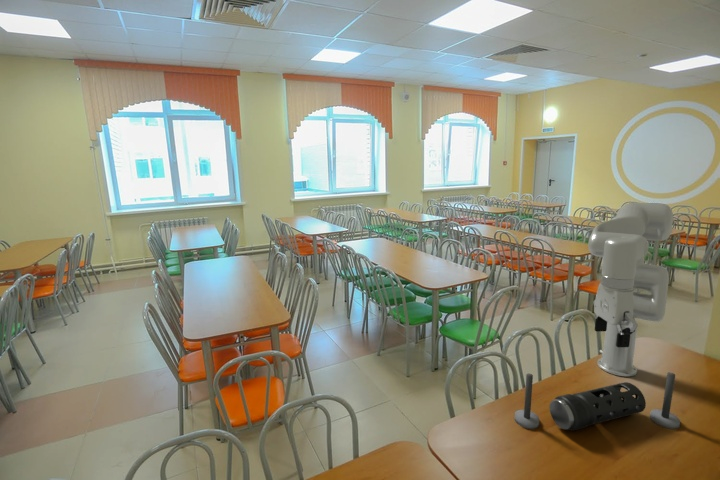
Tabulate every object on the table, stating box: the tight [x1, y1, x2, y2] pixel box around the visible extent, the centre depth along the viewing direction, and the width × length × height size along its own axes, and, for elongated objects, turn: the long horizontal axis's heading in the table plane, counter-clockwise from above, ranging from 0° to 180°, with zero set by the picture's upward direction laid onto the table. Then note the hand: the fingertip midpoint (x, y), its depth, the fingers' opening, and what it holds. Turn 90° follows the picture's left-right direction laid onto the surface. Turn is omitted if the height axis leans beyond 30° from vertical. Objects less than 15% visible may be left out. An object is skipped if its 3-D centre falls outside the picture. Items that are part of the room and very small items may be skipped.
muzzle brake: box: [549, 382, 647, 431], centre depth 111 cm, size 10×28×10 cm, turn 105°
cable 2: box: [649, 372, 681, 430], centre depth 109 cm, size 7×7×16 cm
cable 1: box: [514, 373, 540, 430], centre depth 111 cm, size 7×7×16 cm
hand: (610, 338), depth 103 cm, fingers open, 9 cm apart
